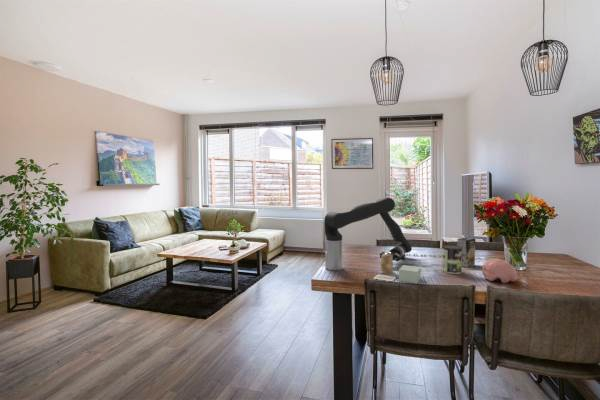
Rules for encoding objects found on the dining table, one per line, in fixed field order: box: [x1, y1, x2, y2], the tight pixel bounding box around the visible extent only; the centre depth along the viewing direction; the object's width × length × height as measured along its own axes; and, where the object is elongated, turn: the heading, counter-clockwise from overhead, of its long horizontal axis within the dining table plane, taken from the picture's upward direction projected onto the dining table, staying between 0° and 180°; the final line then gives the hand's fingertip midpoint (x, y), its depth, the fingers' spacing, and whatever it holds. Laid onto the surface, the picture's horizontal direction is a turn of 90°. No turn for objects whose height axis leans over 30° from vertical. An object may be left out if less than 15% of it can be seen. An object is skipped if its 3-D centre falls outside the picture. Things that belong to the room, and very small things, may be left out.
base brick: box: [398, 264, 422, 284], centre depth 168 cm, size 9×9×6 cm
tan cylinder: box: [380, 254, 394, 275], centre depth 181 cm, size 5×5×10 cm
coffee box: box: [456, 236, 476, 268], centre depth 193 cm, size 9×6×16 cm
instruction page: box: [372, 274, 397, 282], centre depth 171 cm, size 10×8×1 cm
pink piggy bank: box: [481, 258, 518, 284], centre depth 164 cm, size 16×13×12 cm
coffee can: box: [441, 244, 462, 275], centre depth 181 cm, size 10×10×14 cm
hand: (389, 258), depth 185 cm, fingers open, 8 cm apart
